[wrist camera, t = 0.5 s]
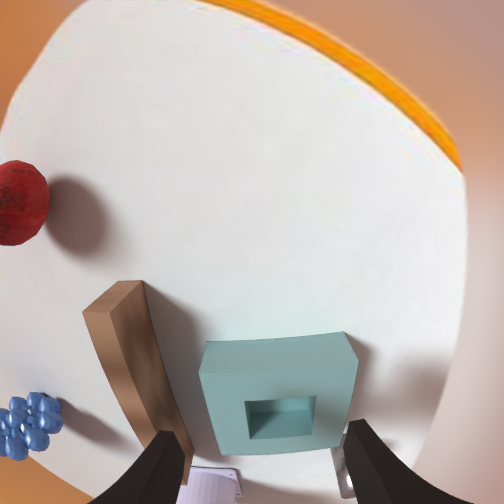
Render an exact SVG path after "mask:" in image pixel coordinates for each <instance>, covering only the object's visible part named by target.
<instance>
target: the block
mask: <svg viewBox="0 0 504 504" xmlns="http://www.w3.org/2000/svg"><path fill="white" fill-rule="evenodd" d="M358 363H359V360H358V358H357V356H356V354H355V352H354V351H353V349H352V347H351V345H350V343H349V341H348V339H347V337H346V335H345V333H344V331H343V332H336V333H327V334H318V335H309V336H299V337H287V338H274V339H258V340H238V341H207V344H206V347H205V351H204V355H203V358H202V362H201V366H200V370H199V377H200V381H201V385H202V389H203V393H204V397H205V401H206V405H207V408H208V412H209V416H210V419H211V423H212V426H213V430H214V433H215V436H216V440H217V443H218V446H219V450H220V453H221V455H270V454H284V453H295V452H304V451H312V450H319V449H325V448H331V447H337V446H339V445H340V442H341V438H342V435H343V431H344V427H345V423H346V420H347V415H348V411H349V407H350V403H351V398H352V394H353V389H354V384H355V379H356V374H357V368H358Z"/></svg>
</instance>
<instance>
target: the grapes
mask: <svg viewBox="0 0 504 504" xmlns="http://www.w3.org/2000/svg"><path fill="white" fill-rule="evenodd" d="M9 409H10V410H7V409H4V408H0V456H2V457H3V456H8V457H10V458H11V459H13V460H17V461H20V460H25V459H26V458H27V456H28V449H29V448H30V449H31V450H33V451H38V452H40V451H45V450H46V449H47V448H48V446H49V443H50V442H49V436H48V434H56V433H59V431H60V430H61V428H62V426H63V419H62V417H61V416H60V415H59V414H60V412H61V404H60V402H59V401H58V400H57V399H55V398H52V397H46V396H45V395H43V394H42V393H38V392H30V393H29V395H28V398H27V400H25V399H24V398H21V397H12V398H11V400H10V403H9Z"/></svg>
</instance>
